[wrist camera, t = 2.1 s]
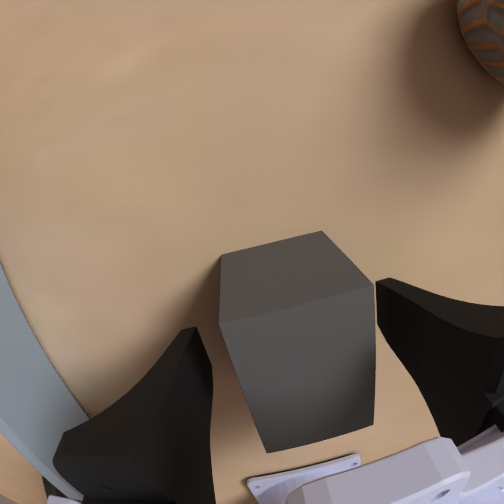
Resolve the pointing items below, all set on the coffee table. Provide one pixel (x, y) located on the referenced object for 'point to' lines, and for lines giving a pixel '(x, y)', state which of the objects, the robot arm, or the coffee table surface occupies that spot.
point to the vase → (484, 33)
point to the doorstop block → (300, 339)
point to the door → (32, 394)
